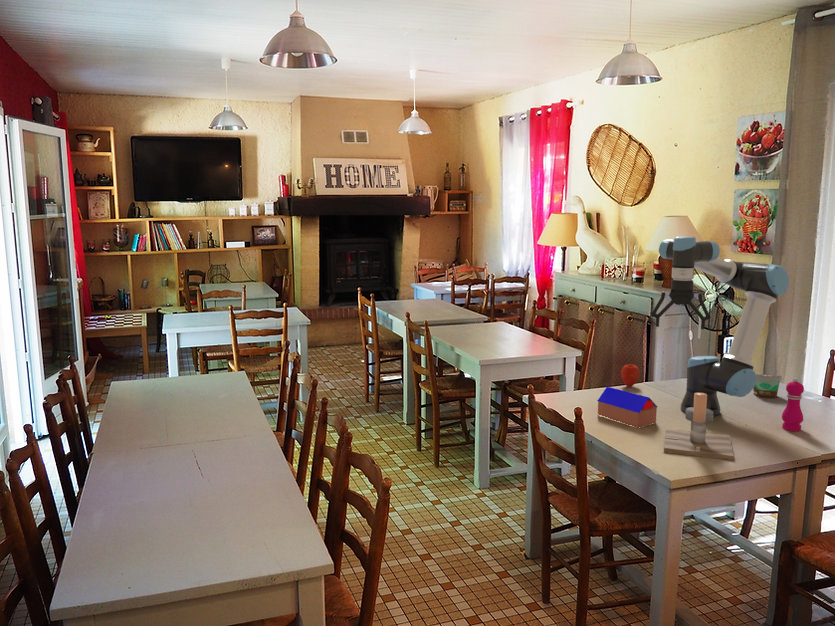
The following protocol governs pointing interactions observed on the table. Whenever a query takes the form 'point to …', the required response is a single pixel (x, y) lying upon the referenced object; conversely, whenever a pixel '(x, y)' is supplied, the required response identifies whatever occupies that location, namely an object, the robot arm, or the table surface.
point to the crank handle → (699, 410)
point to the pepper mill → (793, 407)
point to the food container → (766, 386)
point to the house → (627, 407)
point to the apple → (630, 374)
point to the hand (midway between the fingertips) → (679, 336)
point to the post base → (698, 443)
